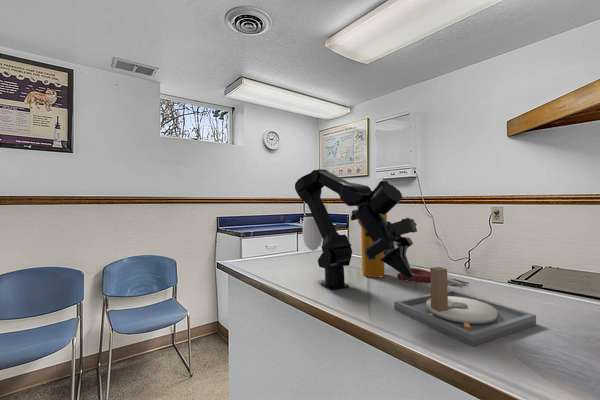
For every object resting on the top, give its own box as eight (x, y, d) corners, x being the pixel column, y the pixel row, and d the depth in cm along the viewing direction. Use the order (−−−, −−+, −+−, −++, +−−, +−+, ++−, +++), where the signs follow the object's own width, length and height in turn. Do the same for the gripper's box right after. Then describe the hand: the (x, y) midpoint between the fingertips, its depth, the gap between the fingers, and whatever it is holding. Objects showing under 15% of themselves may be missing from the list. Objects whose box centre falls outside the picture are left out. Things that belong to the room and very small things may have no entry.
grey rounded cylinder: (300, 274, 106) (298, 217, 106) (317, 272, 109) (316, 216, 109) (309, 279, 100) (307, 218, 100) (327, 276, 103) (326, 217, 103)
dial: (461, 297, 75) (460, 258, 75) (513, 318, 62) (513, 271, 62) (413, 303, 72) (412, 262, 72) (458, 327, 58) (457, 277, 58)
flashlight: (355, 201, 109) (382, 201, 109) (356, 271, 109) (383, 271, 109) (360, 201, 99) (390, 201, 99) (361, 278, 99) (391, 278, 99)
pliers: (461, 293, 84) (461, 283, 84) (395, 280, 99) (395, 272, 99) (473, 284, 92) (473, 276, 92) (410, 274, 107) (410, 266, 107)
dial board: (394, 309, 72) (394, 301, 72) (451, 296, 80) (451, 289, 80) (473, 346, 53) (472, 335, 53) (536, 324, 62) (536, 315, 62)
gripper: (385, 202, 67) (430, 263, 60) (410, 208, 82) (448, 256, 75) (349, 231, 72) (387, 289, 65) (379, 231, 87) (412, 278, 80)
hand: (411, 277), depth 71 cm, fingers closed
